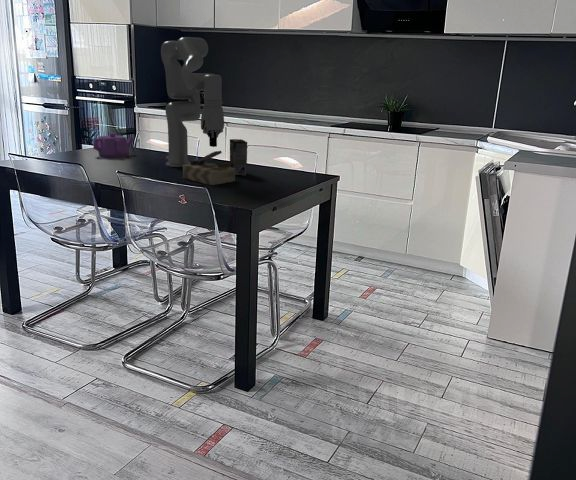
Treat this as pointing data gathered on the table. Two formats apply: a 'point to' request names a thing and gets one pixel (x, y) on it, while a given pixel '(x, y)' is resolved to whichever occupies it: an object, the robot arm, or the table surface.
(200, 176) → the block
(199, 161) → the bar
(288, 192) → the table surface
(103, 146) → the teakettle
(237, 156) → the coffee box
